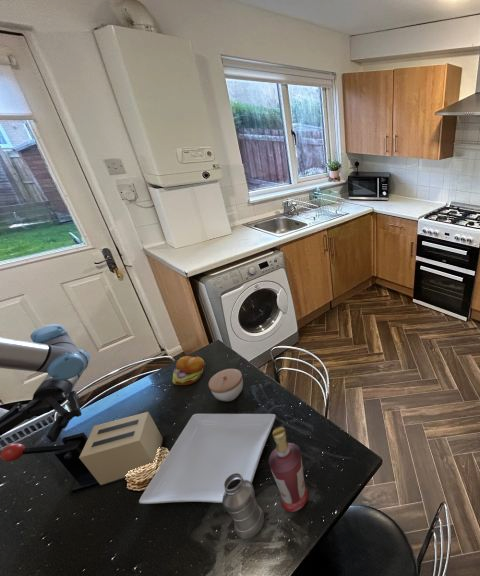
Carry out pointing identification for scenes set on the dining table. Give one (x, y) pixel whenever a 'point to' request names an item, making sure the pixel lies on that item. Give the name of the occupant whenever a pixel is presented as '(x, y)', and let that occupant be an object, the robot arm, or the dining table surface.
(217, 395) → the trinket box
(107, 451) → the toaster
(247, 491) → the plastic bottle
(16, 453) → the lever
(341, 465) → the dining table surface
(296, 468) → the liquor
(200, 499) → the square plate
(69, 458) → the lever bracket
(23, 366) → the robot arm
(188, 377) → the cheeseburger
